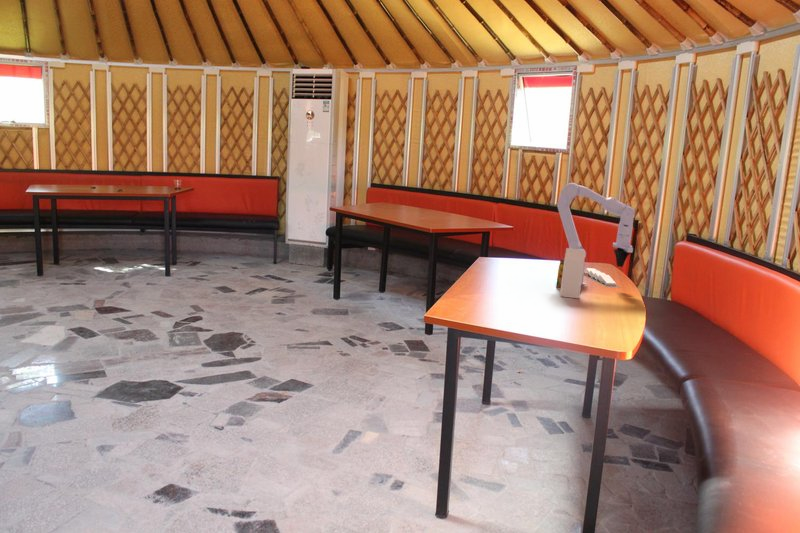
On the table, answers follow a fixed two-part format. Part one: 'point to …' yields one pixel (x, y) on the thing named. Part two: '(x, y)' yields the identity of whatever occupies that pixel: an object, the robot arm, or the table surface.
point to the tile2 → (598, 276)
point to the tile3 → (594, 273)
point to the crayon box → (560, 274)
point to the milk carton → (572, 273)
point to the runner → (600, 282)
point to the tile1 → (607, 280)
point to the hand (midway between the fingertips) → (619, 266)
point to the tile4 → (589, 271)
